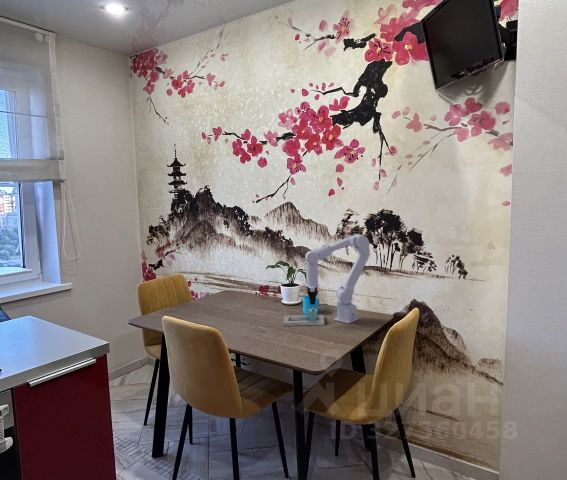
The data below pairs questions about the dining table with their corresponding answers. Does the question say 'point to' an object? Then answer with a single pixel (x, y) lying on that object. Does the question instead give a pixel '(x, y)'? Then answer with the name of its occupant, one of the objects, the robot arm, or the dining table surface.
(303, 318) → the panel
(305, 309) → the mug
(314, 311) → the plug
